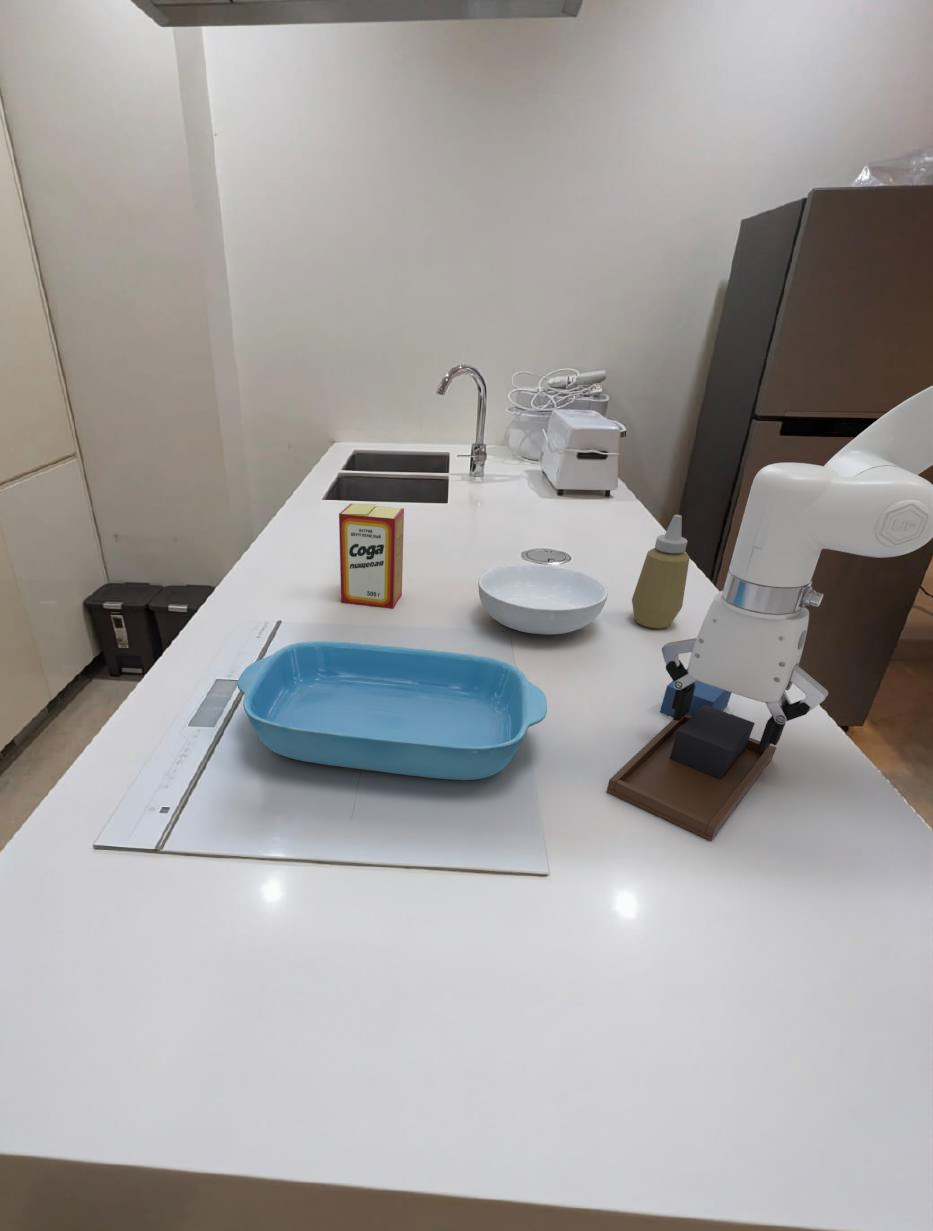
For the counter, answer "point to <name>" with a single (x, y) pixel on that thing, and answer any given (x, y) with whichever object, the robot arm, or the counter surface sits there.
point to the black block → (711, 741)
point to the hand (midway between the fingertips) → (721, 730)
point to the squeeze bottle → (662, 579)
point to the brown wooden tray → (686, 784)
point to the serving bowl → (541, 597)
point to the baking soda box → (371, 554)
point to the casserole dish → (391, 708)
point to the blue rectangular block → (697, 698)
